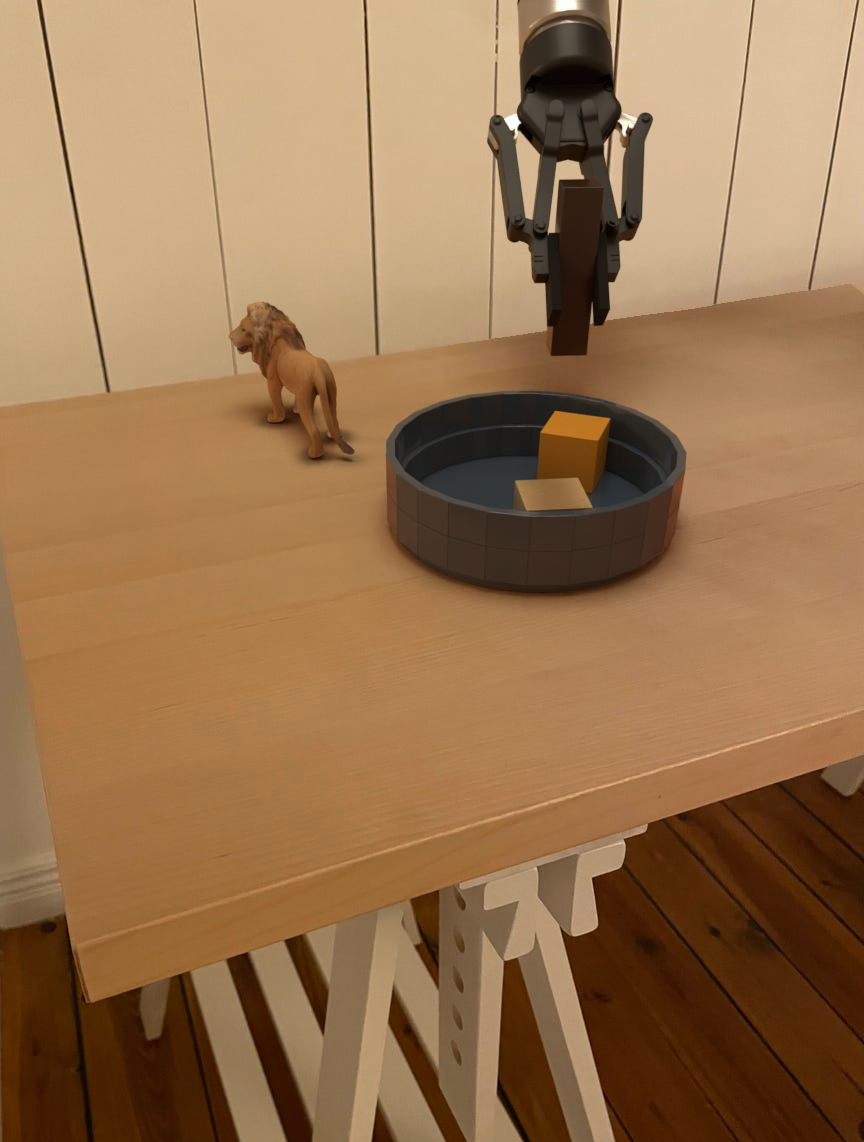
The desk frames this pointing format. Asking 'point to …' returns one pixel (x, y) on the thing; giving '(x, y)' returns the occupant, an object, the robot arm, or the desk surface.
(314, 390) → the lion figurine
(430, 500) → the bowl
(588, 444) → the block mustard
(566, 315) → the dark brown bar
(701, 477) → the desk surface
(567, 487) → the block maple
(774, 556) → the desk surface
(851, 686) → the desk surface
